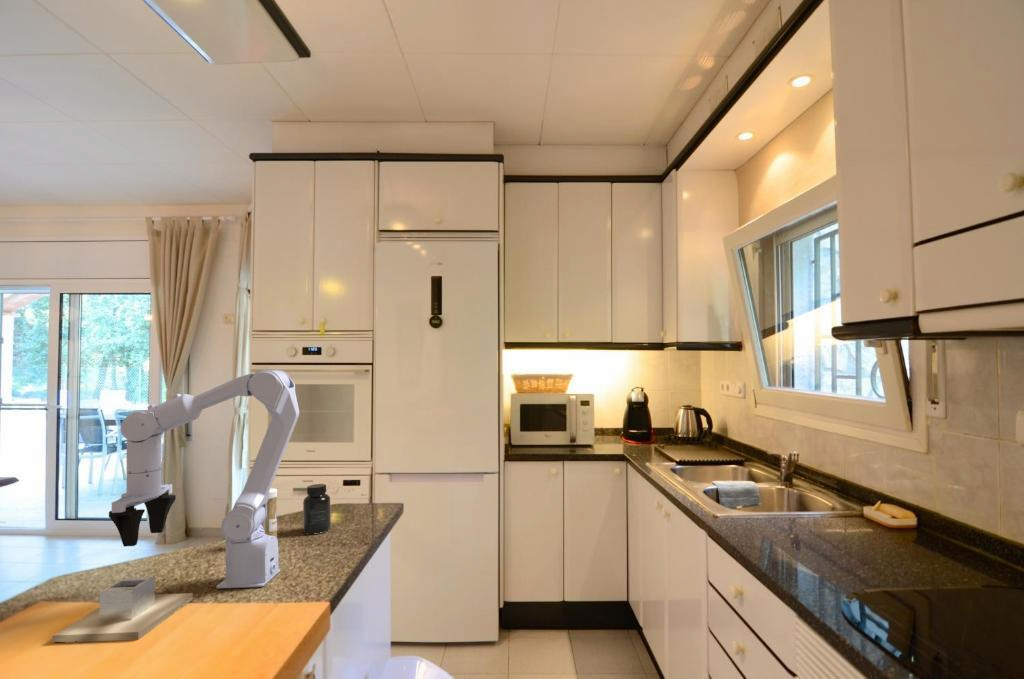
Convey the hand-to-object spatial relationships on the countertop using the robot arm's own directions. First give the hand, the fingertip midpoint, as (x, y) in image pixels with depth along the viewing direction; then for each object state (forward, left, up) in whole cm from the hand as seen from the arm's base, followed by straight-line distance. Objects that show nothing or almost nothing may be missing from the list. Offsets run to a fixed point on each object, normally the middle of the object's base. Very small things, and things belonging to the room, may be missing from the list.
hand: (143, 538), depth 100 cm
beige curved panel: (-6, +11, -10) cm, 16 cm away
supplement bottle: (-22, -35, -11) cm, 42 cm away
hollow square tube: (-5, +11, -9) cm, 16 cm away
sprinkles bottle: (-13, -26, -11) cm, 30 cm away
